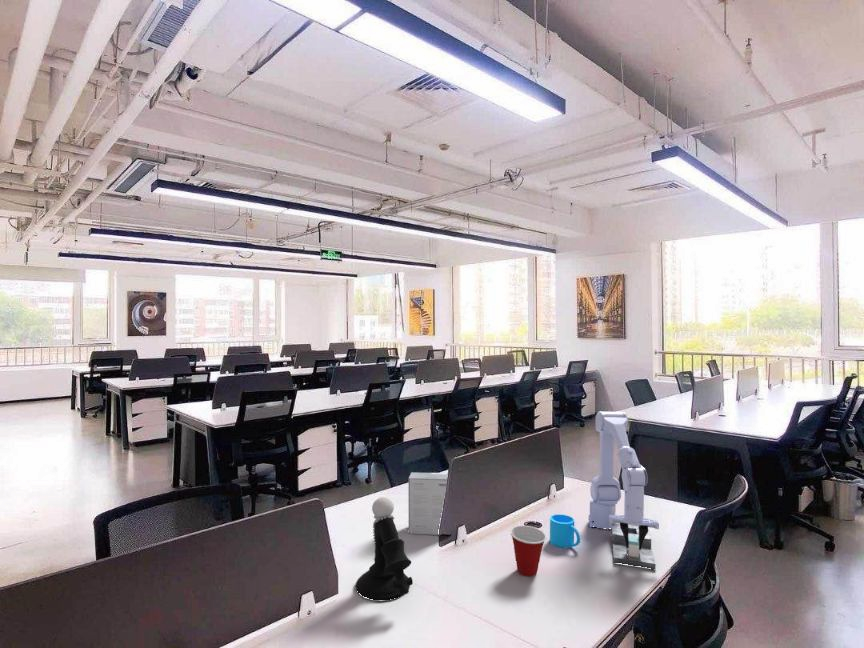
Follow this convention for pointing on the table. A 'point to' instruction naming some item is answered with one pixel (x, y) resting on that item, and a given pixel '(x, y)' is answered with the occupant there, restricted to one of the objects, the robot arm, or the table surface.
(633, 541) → the plug
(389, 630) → the table surface
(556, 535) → the mug
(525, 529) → the plastic cup
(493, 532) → the table surface
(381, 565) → the sculpture
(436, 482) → the hard drive box
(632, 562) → the patch panel
